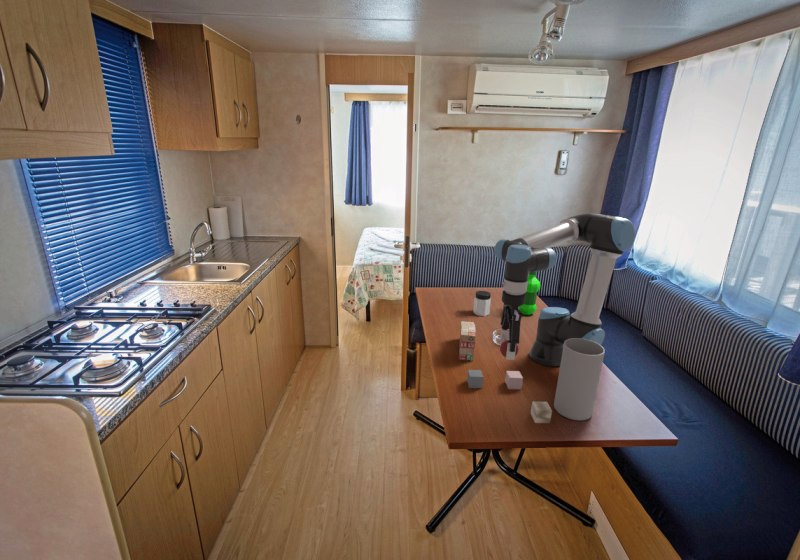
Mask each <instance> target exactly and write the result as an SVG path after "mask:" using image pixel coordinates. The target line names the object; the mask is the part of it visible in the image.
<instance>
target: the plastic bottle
mask: <svg viewBox="0 0 800 560" xmlns="http://www.w3.org/2000/svg"><path fill="white" fill-rule="evenodd" d="M536 275H537V272H532V273H529V274H528V283H527V291H526V292H525V294H526V297H525V303H524V304H523V305H521V306H519V307H518V308H519V312H520V313H521V314H522V315H525V316H530V315H532V314H535V312H536V311H537V310H538V309H537V308H538V307H537V303H536V302H537V297H538V292H539V291H540V290H541V282H540V281H539V279H537V277H536Z"/></svg>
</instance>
